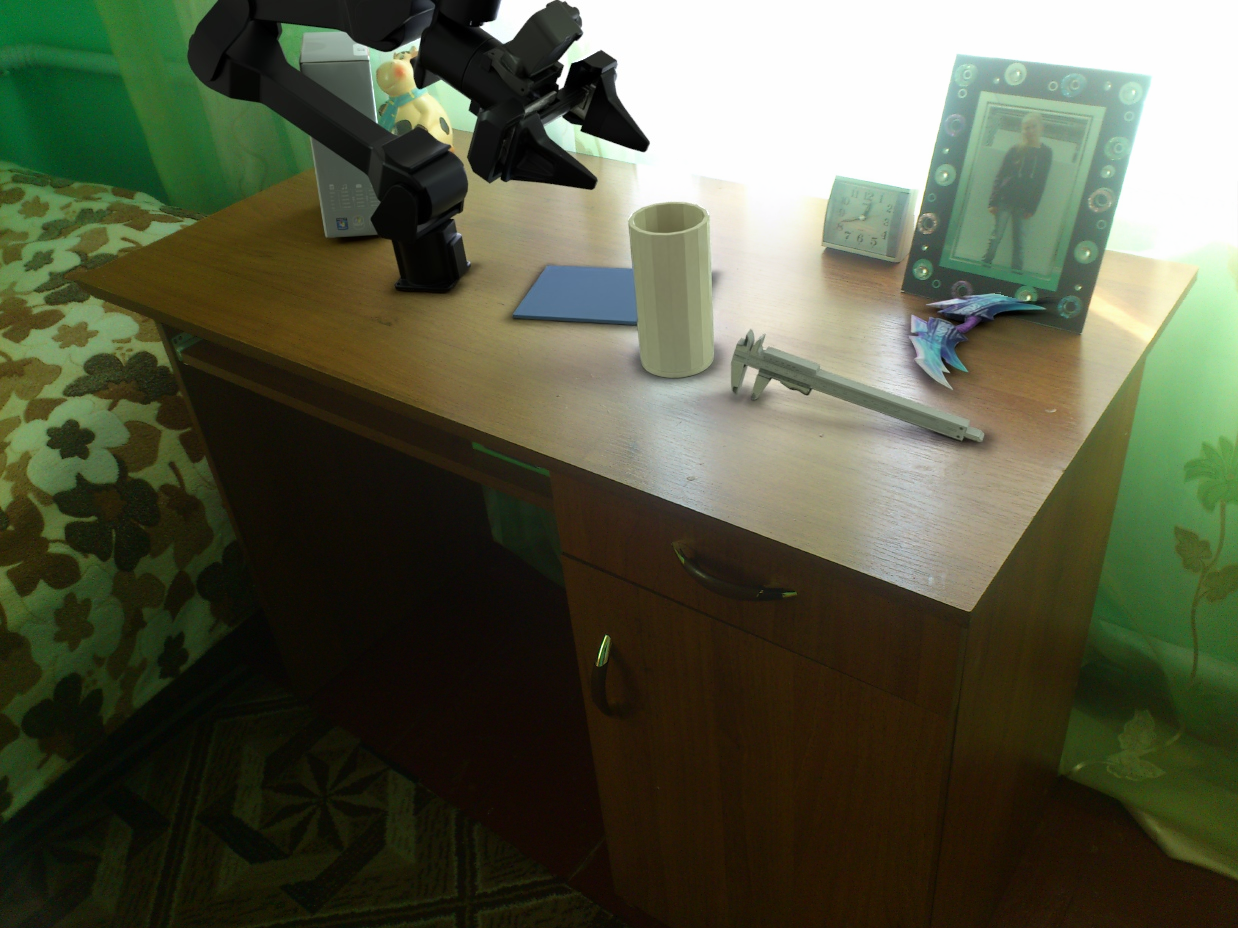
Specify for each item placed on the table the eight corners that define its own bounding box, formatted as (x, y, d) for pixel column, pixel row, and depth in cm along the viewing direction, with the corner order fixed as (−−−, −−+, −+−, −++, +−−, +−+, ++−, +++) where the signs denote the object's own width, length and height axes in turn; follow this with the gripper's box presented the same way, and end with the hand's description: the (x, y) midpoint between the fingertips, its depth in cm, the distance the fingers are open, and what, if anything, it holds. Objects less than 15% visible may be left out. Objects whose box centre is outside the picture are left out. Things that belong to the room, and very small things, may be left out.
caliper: (730, 396, 83) (729, 332, 79) (735, 390, 84) (734, 325, 80) (981, 445, 74) (993, 376, 71) (984, 437, 75) (996, 368, 71)
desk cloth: (512, 318, 97) (512, 314, 97) (548, 268, 106) (547, 265, 105) (689, 328, 93) (689, 324, 92) (712, 275, 101) (712, 271, 101)
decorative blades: (981, 266, 95) (1079, 297, 89) (980, 273, 96) (1077, 305, 89) (854, 344, 86) (953, 385, 79) (853, 352, 86) (952, 394, 80)
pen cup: (632, 375, 87) (619, 233, 79) (650, 338, 92) (639, 200, 84) (705, 380, 85) (699, 236, 77) (720, 342, 90) (715, 202, 82)
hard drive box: (392, 236, 116) (369, 60, 105) (325, 241, 115) (295, 63, 103) (386, 190, 128) (365, 28, 117) (326, 194, 127) (299, 30, 115)
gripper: (434, 11, 75) (597, 122, 73) (564, -41, 87) (705, 53, 86) (409, 132, 83) (555, 235, 82) (531, 69, 96) (660, 157, 94)
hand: (622, 165), depth 86 cm, fingers open, 9 cm apart
